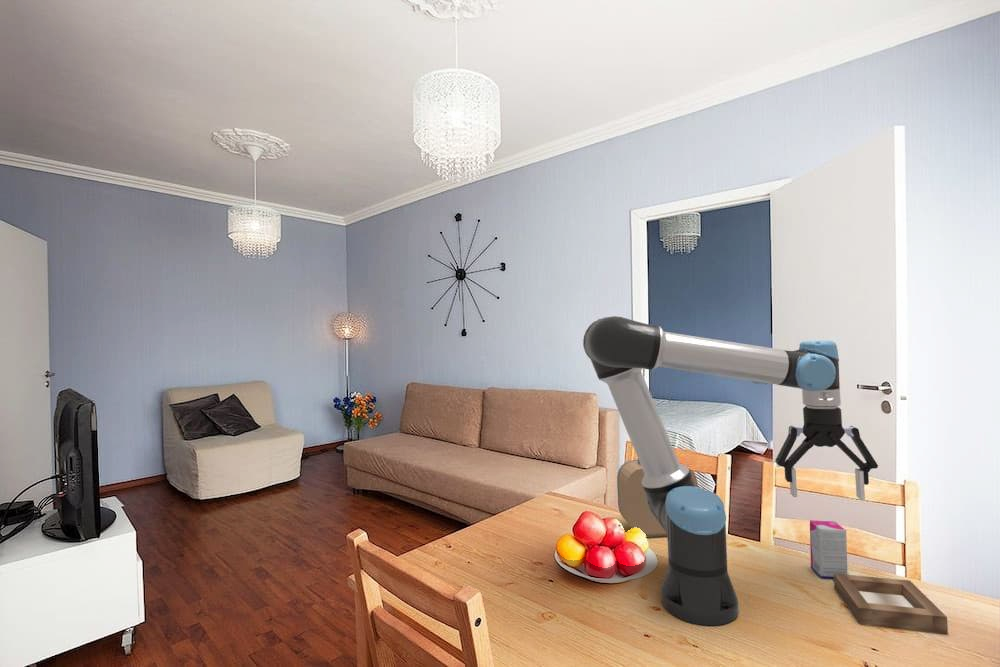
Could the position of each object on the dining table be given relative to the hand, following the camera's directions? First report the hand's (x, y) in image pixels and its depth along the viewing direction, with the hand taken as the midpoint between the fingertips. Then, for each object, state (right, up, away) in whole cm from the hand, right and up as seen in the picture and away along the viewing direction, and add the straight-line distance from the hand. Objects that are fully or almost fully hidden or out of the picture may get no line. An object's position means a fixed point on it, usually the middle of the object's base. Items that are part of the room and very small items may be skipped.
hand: (826, 496), depth 115 cm
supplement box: (+1, -18, 0) cm, 18 cm away
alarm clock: (-30, -20, +28) cm, 46 cm away
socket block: (+2, -18, -15) cm, 23 cm away
